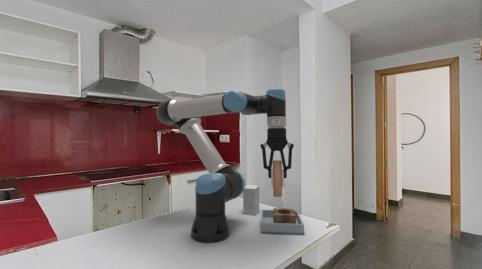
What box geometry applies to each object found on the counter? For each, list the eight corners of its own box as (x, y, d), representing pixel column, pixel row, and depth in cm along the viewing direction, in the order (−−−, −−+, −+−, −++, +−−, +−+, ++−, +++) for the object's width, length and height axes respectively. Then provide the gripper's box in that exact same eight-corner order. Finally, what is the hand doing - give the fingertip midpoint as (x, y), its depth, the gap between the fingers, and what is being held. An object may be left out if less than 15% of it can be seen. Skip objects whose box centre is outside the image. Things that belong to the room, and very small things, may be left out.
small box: (247, 209, 126) (248, 184, 126) (259, 210, 124) (259, 185, 124) (242, 213, 119) (242, 187, 119) (255, 215, 117) (255, 188, 116)
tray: (260, 233, 96) (261, 223, 96) (261, 217, 113) (261, 209, 113) (303, 234, 95) (304, 224, 95) (297, 219, 112) (297, 210, 111)
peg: (273, 196, 94) (272, 161, 94) (273, 194, 97) (272, 160, 97) (282, 197, 93) (281, 161, 93) (282, 194, 97) (281, 160, 97)
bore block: (274, 227, 100) (274, 214, 100) (273, 219, 109) (273, 208, 109) (295, 228, 99) (296, 215, 99) (293, 220, 108) (293, 208, 108)
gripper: (255, 128, 93) (256, 188, 93) (298, 127, 90) (299, 188, 90) (256, 128, 100) (257, 184, 100) (297, 127, 98) (298, 184, 98)
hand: (277, 186), depth 95 cm, fingers closed on peg, 3 cm apart
